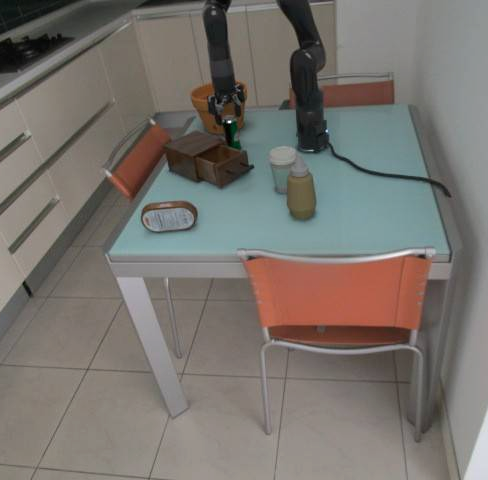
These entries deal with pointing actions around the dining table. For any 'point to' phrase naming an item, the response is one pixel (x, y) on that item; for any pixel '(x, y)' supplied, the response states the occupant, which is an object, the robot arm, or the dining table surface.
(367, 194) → the dining table surface
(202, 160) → the drawer
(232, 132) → the soda can
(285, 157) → the coffee cup
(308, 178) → the squeeze bottle
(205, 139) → the cabinet
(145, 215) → the tin
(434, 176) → the dining table surface
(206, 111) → the flower pot
